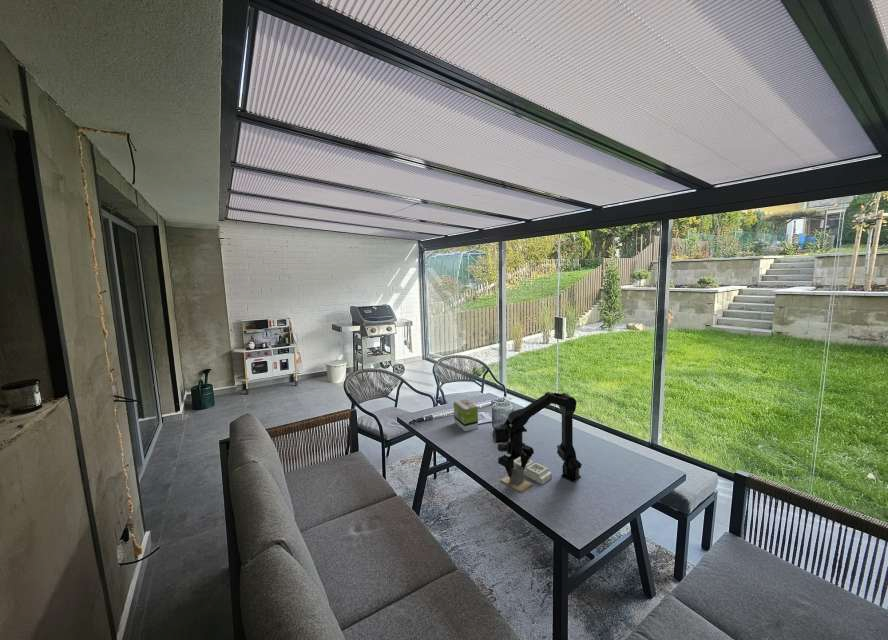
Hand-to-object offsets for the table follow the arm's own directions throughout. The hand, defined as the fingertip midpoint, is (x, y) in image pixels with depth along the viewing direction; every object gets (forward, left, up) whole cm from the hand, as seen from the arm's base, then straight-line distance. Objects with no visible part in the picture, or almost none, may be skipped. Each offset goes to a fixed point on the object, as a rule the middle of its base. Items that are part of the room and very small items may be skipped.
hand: (516, 473), depth 155 cm
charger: (0, 0, -4) cm, 4 cm away
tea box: (+61, -25, -5) cm, 66 cm away
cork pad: (0, 0, -5) cm, 5 cm away
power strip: (+1, -11, -5) cm, 13 cm away
